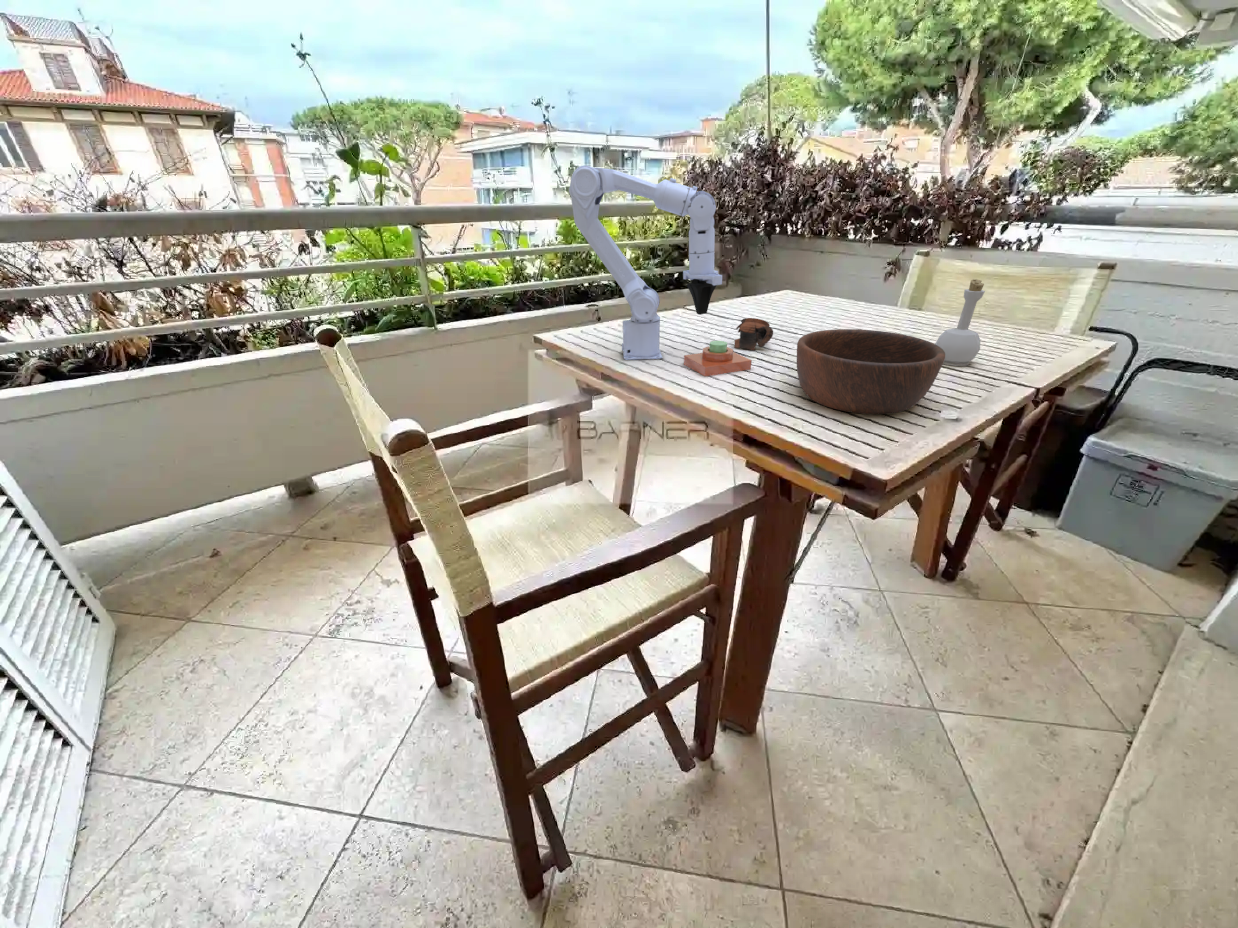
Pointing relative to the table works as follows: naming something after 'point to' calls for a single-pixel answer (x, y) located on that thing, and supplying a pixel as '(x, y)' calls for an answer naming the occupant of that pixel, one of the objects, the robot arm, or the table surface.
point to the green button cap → (718, 346)
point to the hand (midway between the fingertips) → (701, 313)
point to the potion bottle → (963, 331)
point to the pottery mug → (753, 333)
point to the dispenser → (717, 362)
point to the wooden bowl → (867, 369)
